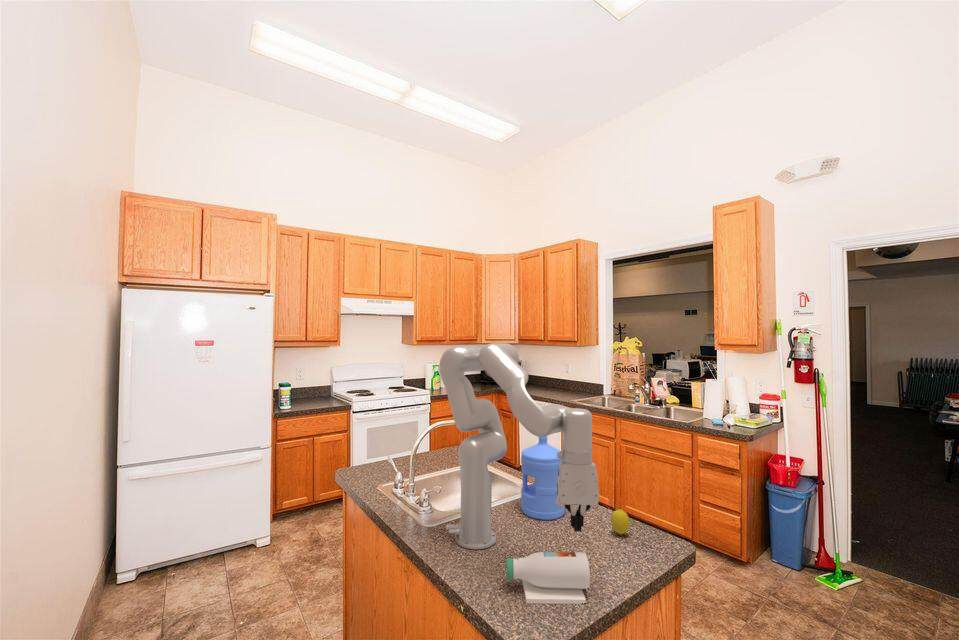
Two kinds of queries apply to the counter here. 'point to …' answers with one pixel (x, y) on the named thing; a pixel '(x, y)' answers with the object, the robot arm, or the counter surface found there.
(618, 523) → the lemon
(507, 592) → the counter surface
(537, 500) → the water jug
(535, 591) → the cutting board
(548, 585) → the milk bottle
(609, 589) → the counter surface
